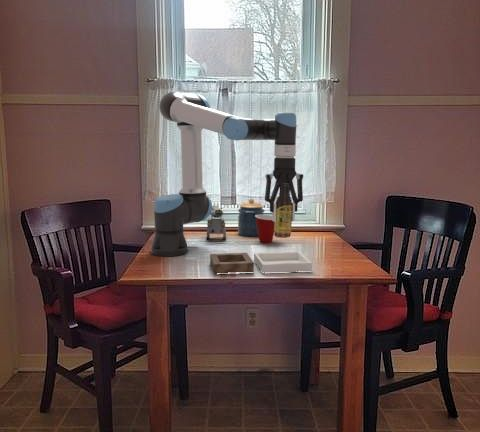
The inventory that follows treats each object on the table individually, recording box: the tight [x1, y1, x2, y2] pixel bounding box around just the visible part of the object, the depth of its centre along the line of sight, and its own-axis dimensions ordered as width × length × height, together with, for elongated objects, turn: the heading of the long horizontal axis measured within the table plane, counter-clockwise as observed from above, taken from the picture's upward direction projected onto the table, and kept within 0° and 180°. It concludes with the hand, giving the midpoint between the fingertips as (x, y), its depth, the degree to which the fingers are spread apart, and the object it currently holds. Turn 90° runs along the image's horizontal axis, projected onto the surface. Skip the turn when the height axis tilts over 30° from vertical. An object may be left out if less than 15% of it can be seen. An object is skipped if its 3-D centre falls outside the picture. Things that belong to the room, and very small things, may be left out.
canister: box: [237, 198, 265, 237], centre depth 224 cm, size 13×13×18 cm
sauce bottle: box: [273, 183, 293, 239], centre depth 166 cm, size 7×6×20 cm
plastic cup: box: [255, 214, 275, 244], centre depth 208 cm, size 11×11×12 cm
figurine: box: [205, 205, 227, 241], centre depth 213 cm, size 9×12×15 cm
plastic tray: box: [253, 251, 313, 273], centre depth 170 cm, size 18×16×4 cm
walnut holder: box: [209, 252, 255, 275], centre depth 167 cm, size 14×14×4 cm
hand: (283, 220), depth 167 cm, fingers closed on sauce bottle, 6 cm apart
